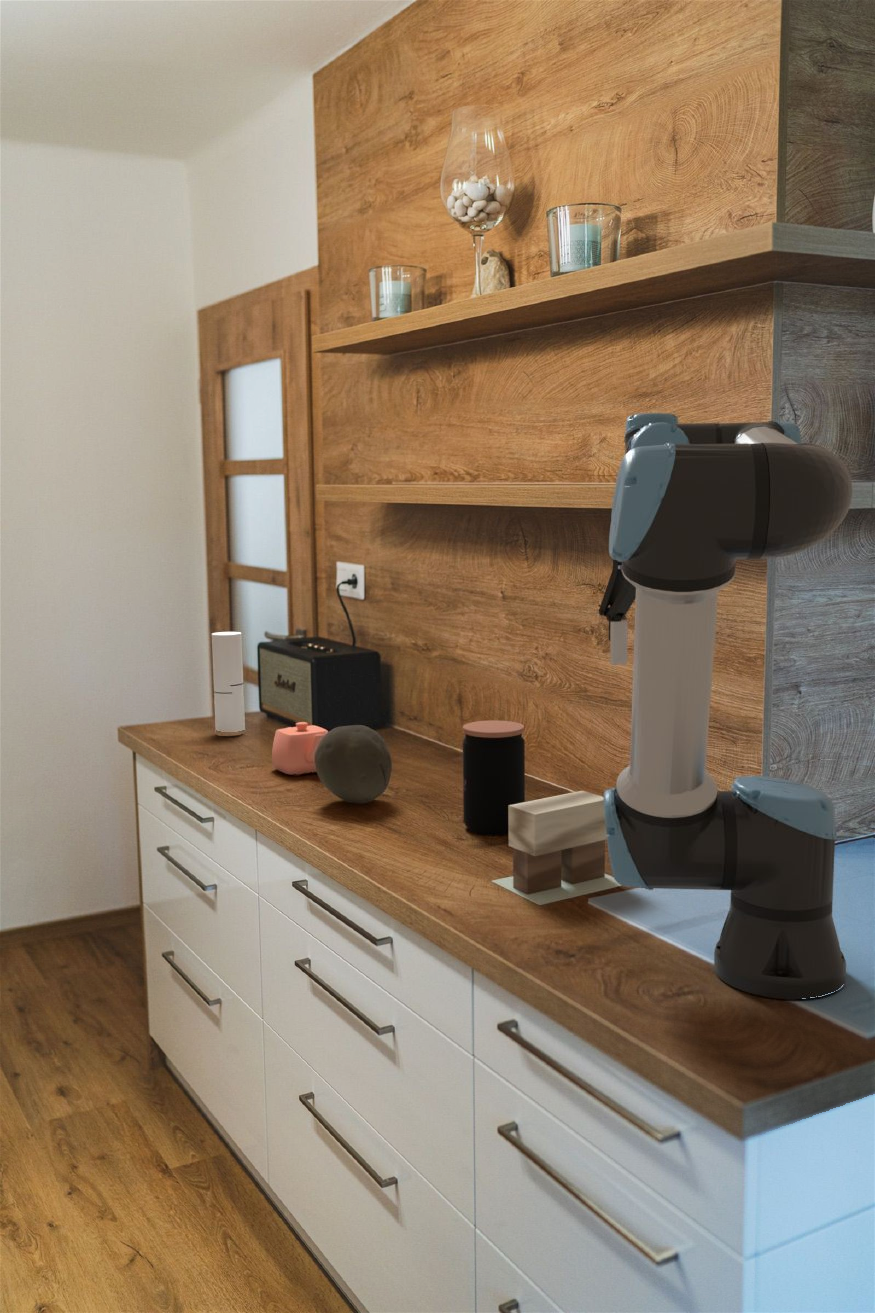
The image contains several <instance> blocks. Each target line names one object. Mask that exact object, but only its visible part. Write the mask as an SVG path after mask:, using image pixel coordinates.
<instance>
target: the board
mask: <svg viewBox="0 0 875 1313" xmlns="http://www.w3.org/2000/svg"><path fill="white" fill-rule="evenodd" d="M491 882H492V883H493V884H496V885H498V886H500V887H502V888H504V889H506V890H508V891H510V892H512V893H514V894H516V895H518V896H519V897H522V898H524V899H526V900H528V901H530V902H532V903H534V904H536V905H538V906H542V905H547V904H551V903H555V902H559V901H563V900H566V899H572V898H575V897H580V896H584V895H588V894H589V895H590V894H593V893H597V892H602V891H605V890H610V889H614V888H618V887H623V886H622V885H620V884H619V883H618V882H617V881H616V880H615V879H614V877H613V875H609V874H607V873H605V877H602V878H598V879H594V880H589V881H585V882H581V883H576V884H570V883H568V882H566V881H564V880H562V879H561V887H559V888H555V889H550V890H546V891H541V892H537V893H533V894H528V895H527V894H525V893H523V892H521V891H519V890H517V889H515V888H513V875H512V876H508V877H502V878H497V879H493V880H491Z"/></svg>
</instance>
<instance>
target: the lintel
mask: <svg viewBox="0 0 875 1313" xmlns="http://www.w3.org/2000/svg"><path fill="white" fill-rule="evenodd" d="M508 824H509V834H508V847H511V848H512V849H513V848H515V849H518V850H520V851H523V852H525V853H528V854H530V855H533V856H538V855H542V854H547V853H551V852H555V851H559V850H563V849H568V848H572V847H576V846H580V845H585V844H589V843H593V842H597V841H602V840H605V841H607V832H606V824H605V814H604V797H603V796H602V795H598V794H595V793H592V792H589V791H584V790H579V791H573V792H568V793H564V794H557V795H554V796H549V797H548V796H547V797H544V798H539V799H534V800H528V801H525V802H523V803H518V804H513V805H508Z"/></svg>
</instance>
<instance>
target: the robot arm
mask: <svg viewBox="0 0 875 1313" xmlns="http://www.w3.org/2000/svg"><path fill="white" fill-rule="evenodd" d="M623 440H624V456H623V458H622V460H621V463H620V465H619V469H618V473H617V477H616V481H615V486H614V487H615V488H614V494H613V501H612V508H611V514H610V515H611V517H610V518H611V519H610V520H611V521H610V527H609V534H608V535H609V538H608V554H609V557H610V558H611V559H612V570H611V574H610V576H609V579H608V581H607V582H608V583H607V585H606V588H605V591H604V593H603V594H604V595H603V596H602V600H601V604H600V605H599V610H598V614H599V616H603V617H605V618H606V619H607V621H608V641H609V642H610V646H609V648H610V649H609V651H610V652H609V660H610V661H609V662H610V663H609V664H610V665H611V666H617V665H626V664H628V637H629V636H628V634H629V632H628V629H629V628H628V627H629V625H628V624H629V622H628V620H627V619H628V617H627V616H626V615H627V613H628V611H629V610H630V609H631V607H632V605H633V603H634V601H635V605H634V606H635V609H634V610H635V611H634V634H633V635H634V636H633V667H632V668H633V669H632V692H631V695H632V697H631V698H632V699H631V723H630V727H631V728H630V749H629V750H630V751H629V754H630V759H629V765H628V766H627V767H625V768H624V769H623V770H622V771H621V772H620V773H619V775H618V776H617V778H616V785H615V787H612V788H609V789H606V790H604V792H603V796H602V797H604V814H605V824H606V832H607V839H606V842H607V851H608V857H609V858H608V859H609V865H610V870H611V874H612V875H611V876H612V877H614V879H615V880H616V881H617V882H618V883H619V884H620V885H622V886H621V887H626V888H638V889H645V890H648V891H653V890H654V889H663V890H665V889H666V890H669V889H670V890H702V891H703V890H704V891H705V890H707V891H709V890H712V891H730V903H729V904H730V905H729V910H728V913H727V915H726V918H725V921H724V924H723V925H722V926H723V927H722V929H721V933H720V935H719V936H720V937H719V938H718V939H719V940H718V941H717V943H716V945H715V947H714V952H713V953H714V955H713V957H714V958H713V959H714V960H713V969H714V972H715V974H716V976H717V977H718V978H719V979H720V980H721V981H723V982H724V983H726V984H727V985H729V986H731V987H733V988H735V989H738V990H740V991H742V992H745V993H749V994H752V995H756V996H760V997H765V998H770V999H778V1000H790V1001H791V1000H795V999H802V998H810V997H816V996H817V997H818V996H822V995H825V994H828V993H831V992H834V991H836V990H838V989H839V988H840V987H841V986H842V985H843V984H844V983H845V984H846V982H845V980H846V977H847V961H846V959H845V956H844V953H843V952H842V951H841V946H840V941H839V938H838V934H837V929H836V926H835V925H836V924H835V922H834V918H833V904H834V903H833V902H834V901H833V900H834V876H835V873H834V872H835V851H836V847H835V846H836V845H835V844H836V840H837V838H838V833H837V828H836V809H835V805H834V802H833V801H832V799H831V798H830V797H829V796H828V795H827V794H826V793H824V792H823V791H821V790H820V789H817V788H815V787H813V786H810V785H807V784H804V783H802V782H798V781H793V780H789V779H785V778H779V777H774V776H773V777H772V776H763V775H762V776H761V775H749V776H744V775H743V776H738V777H737V778H735V779H734V780H733V783H732V784H731V790H728V791H727V790H719V789H718V784H717V781H716V779H715V778H714V777H713V776H712V774H710V773H709V772H708V771H707V768H706V767H707V755H708V743H709V742H708V741H709V726H710V712H711V699H712V698H711V696H712V685H713V670H714V655H715V643H716V642H715V641H716V630H717V629H716V628H717V614H718V601H719V592H720V591H722V589H724V588H725V587H727V586H728V585H729V584H731V582H732V581H733V580H734V578H735V575H736V574H735V573H736V565H737V564H736V562H737V560H738V561H739V560H767V559H772V560H773V559H778V558H785V557H787V556H791V555H794V554H798V553H800V552H803V551H805V550H808V549H809V548H811V547H814V546H816V545H817V544H819V543H821V542H822V541H824V540H825V539H826V538H828V537H829V536H830V535H831V534H833V532H835V530H836V529H837V528H839V526H840V525H841V523H843V521H844V519H845V517H846V516H847V514H848V512H849V510H850V507H851V503H852V497H853V482H852V477H851V476H850V472H849V471H848V467H847V466H846V465H845V463H844V461H842V460H841V458H839V457H838V456H837V455H835V454H834V453H833V452H831V450H828V449H827V448H825V447H822V446H820V445H818V444H814V443H810V442H809V443H808V442H803V441H802V433H801V429H800V427H799V426H798V424H796V423H794V422H791V421H778V420H767V421H758V422H757V421H756V422H755V421H754V422H728V423H726V422H723V423H720V422H710V423H709V422H708V423H707V422H703V423H702V422H701V423H699V422H697V423H695V422H694V423H693V422H692V423H691V422H690V423H679V418H678V417H677V415H676V414H673V413H666V412H655V413H654V412H650V413H648V412H647V413H637V414H631V415H629V416H628V417H627V418H626V421H625V433H624V438H623ZM846 981H847V980H846ZM795 1001H796V1000H795Z"/></svg>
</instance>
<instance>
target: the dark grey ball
mask: <svg viewBox="0 0 875 1313" xmlns="http://www.w3.org/2000/svg"><path fill="white" fill-rule="evenodd" d="M392 764H393V762H392V756H391V753H390V750H389V748H388V746H387V744H386V741H385V740H384V738H383V737H382V736H381V735H380V734H379V732H377V731H376V730H374V729H372V728H370V727H369V726H366V725H362V724H354V725H352V724H351V725H343V726H337V727H334V728H332V729H331V730H330V731H328V733H327V734H326V735H325V736H324V737H323V738H322V739H321V741H320V742H319V745H318V748H317V750H316V752H315V767H316V770H317V772H316V775H317V776H318V778H319V780H320V782H321V783H322V784H323V786H324V787H325V788H326V789H327V790H328V791H330V793H332V794H333V795H334V796H336V797H338V798H339V799H340V800H343V801H345V802H347V803H348V802H349V803H351V804H360V805H363V804H364V805H365V804H367V803H370V802H373V801H374V800H375V799H378V798H379V797H380V796H382V794H384V793H385V791H386V790H387V788H388V786H389V784H390V779H391V774H392V769H393V765H392Z"/></svg>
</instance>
